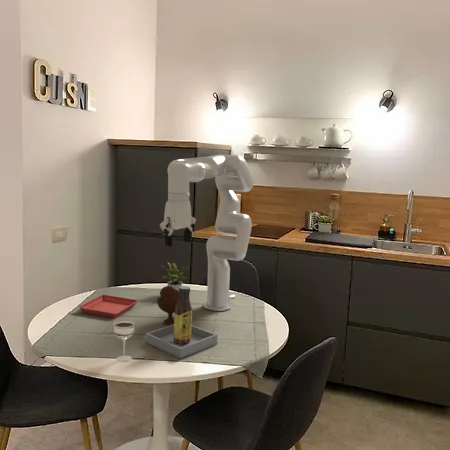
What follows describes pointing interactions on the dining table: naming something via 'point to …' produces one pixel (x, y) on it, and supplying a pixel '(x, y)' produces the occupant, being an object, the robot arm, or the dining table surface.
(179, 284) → the house plant
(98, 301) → the red square tray
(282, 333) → the dining table surface
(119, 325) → the wineglass
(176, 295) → the ice cream bowl
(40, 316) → the dining table surface
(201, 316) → the dining table surface
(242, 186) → the robot arm
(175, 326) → the sauce bottle
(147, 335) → the parts tray
